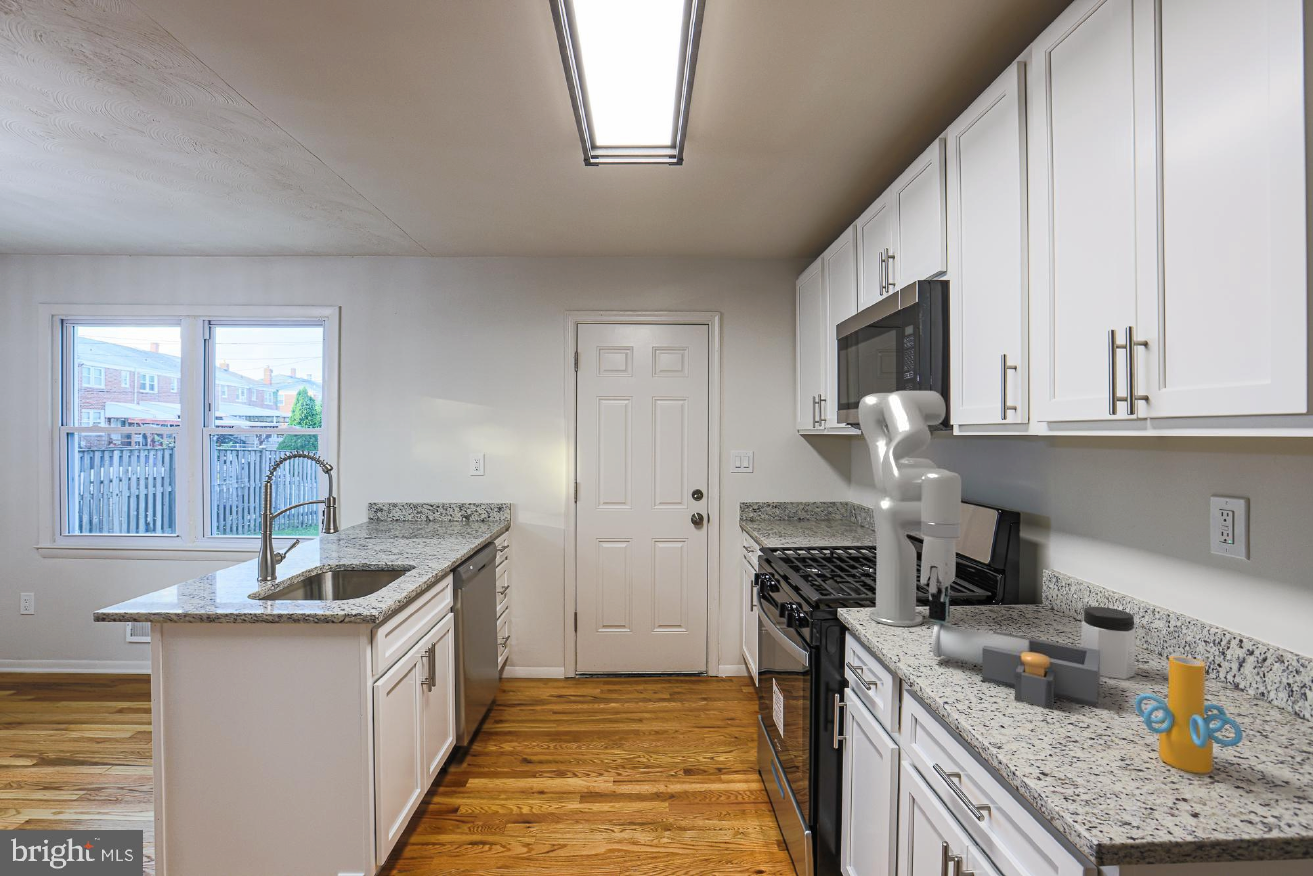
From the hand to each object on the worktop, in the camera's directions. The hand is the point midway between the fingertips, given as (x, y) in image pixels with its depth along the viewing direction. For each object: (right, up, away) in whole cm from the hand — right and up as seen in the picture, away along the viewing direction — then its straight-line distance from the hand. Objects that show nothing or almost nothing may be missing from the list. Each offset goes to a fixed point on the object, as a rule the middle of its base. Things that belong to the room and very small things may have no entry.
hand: (939, 617), depth 129 cm
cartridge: (+6, -8, -4) cm, 11 cm away
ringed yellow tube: (+18, -10, -39) cm, 44 cm away
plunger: (+9, -8, -18) cm, 22 cm away
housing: (+13, -9, -13) cm, 21 cm away
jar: (+32, -10, -5) cm, 34 cm away
